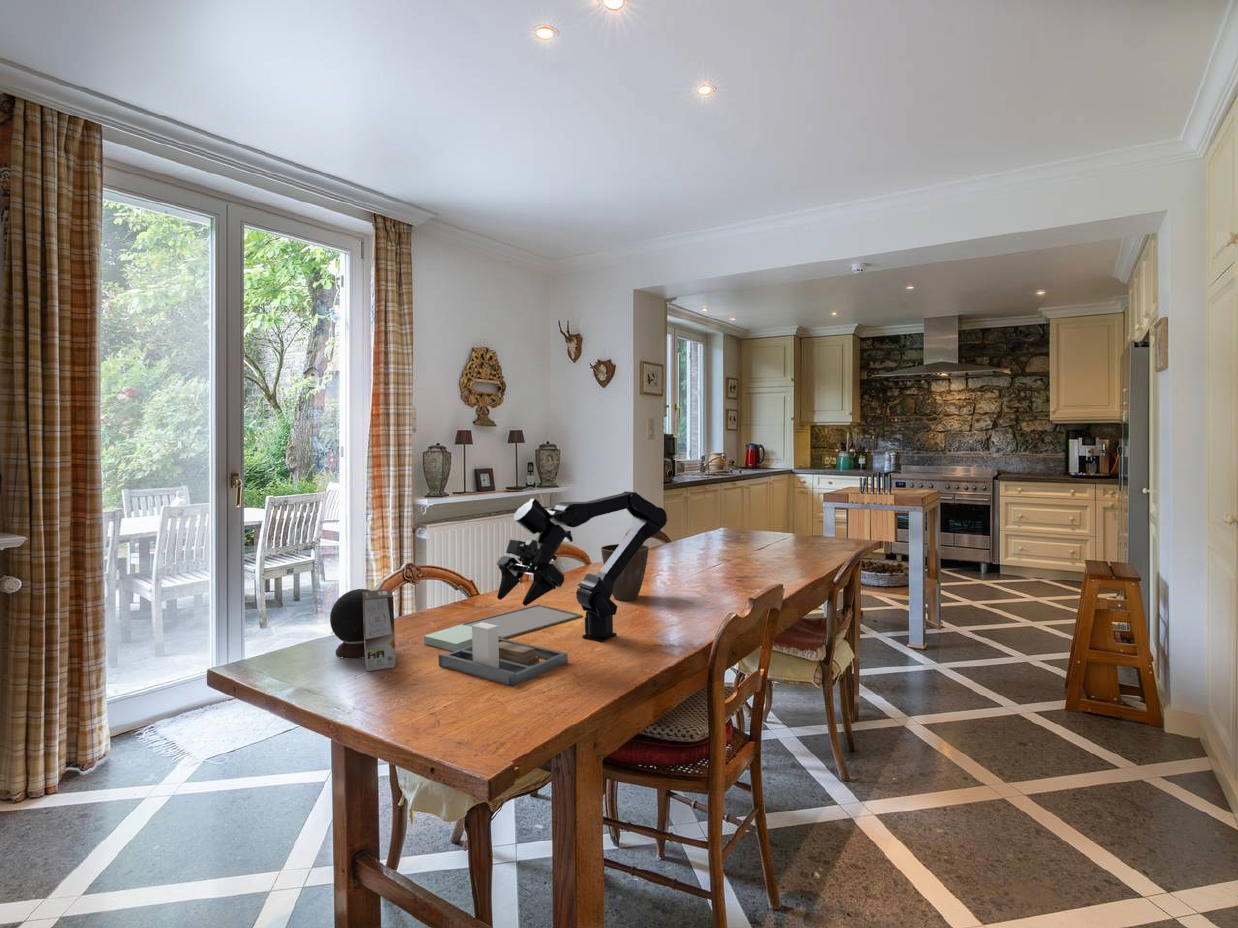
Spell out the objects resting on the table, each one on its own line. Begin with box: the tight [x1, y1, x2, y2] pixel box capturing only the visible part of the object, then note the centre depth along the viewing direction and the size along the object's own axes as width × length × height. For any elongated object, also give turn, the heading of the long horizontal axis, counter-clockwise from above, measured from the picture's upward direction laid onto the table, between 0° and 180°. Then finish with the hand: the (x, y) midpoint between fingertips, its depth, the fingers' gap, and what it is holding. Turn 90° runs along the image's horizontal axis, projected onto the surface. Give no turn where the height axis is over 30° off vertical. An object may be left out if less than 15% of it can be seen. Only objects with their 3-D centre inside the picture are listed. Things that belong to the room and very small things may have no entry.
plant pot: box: [600, 543, 650, 602], centre depth 210 cm, size 15×15×16 cm
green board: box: [423, 623, 472, 652], centre depth 168 cm, size 12×12×2 cm
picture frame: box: [458, 604, 584, 640], centre depth 186 cm, size 19×1×28 cm
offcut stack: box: [499, 641, 540, 666], centre depth 153 cm, size 12×5×4 cm, turn 59°
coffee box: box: [363, 588, 396, 672], centre depth 152 cm, size 9×6×16 cm
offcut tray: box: [438, 638, 569, 687], centre depth 151 cm, size 23×18×2 cm
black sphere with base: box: [329, 588, 372, 659], centre depth 162 cm, size 13×13×15 cm
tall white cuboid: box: [472, 622, 499, 668], centre depth 147 cm, size 5×3×10 cm, turn 54°
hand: (511, 601), depth 153 cm, fingers open, 9 cm apart
